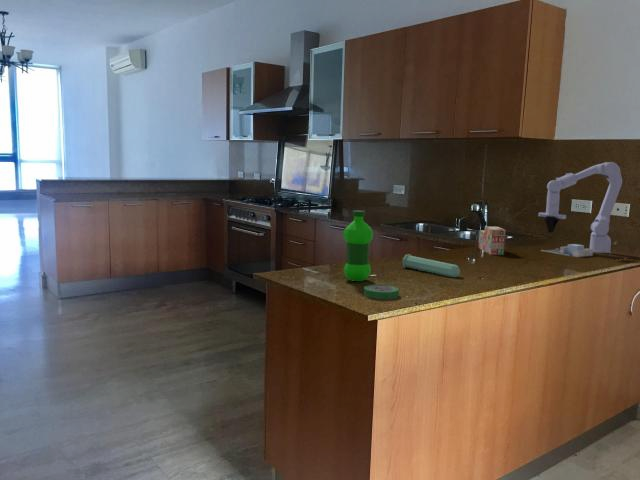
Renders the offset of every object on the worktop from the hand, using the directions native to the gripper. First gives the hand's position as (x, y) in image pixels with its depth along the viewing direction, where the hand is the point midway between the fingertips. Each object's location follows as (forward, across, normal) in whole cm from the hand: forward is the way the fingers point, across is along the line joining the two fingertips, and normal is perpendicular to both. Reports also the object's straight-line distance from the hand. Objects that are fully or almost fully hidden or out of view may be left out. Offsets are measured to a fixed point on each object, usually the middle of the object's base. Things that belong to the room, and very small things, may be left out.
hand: (550, 232), depth 272 cm
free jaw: (+8, +12, -3) cm, 15 cm away
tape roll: (+10, +40, -130) cm, 136 cm away
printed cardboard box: (+10, -12, -28) cm, 32 cm away
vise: (+9, +12, -3) cm, 16 cm away
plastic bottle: (+10, +18, -125) cm, 127 cm away
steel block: (+8, +16, -3) cm, 19 cm away
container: (+10, +17, -90) cm, 92 cm away
